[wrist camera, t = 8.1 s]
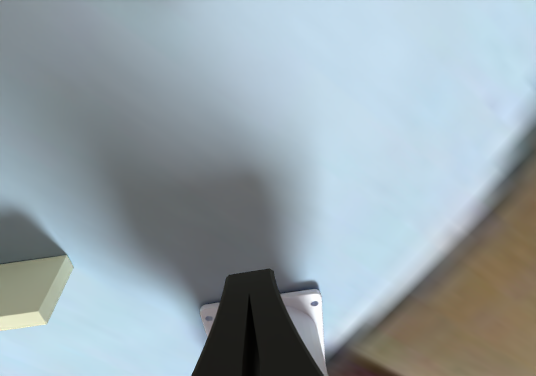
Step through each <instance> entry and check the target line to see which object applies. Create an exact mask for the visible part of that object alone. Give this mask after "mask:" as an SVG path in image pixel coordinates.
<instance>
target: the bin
mask: <svg viewBox="0 0 536 376" xmlns="http://www.w3.org/2000/svg"><path fill="white" fill-rule="evenodd" d="M73 268H74V267H73V265H72V263H71V261H70V260H69V258H68V256H67V255H63V256H56V257H49V258H42V259H35V260H28V261H21V262H14V263H7V264H0V331H3V330H10V329H17V328H24V327H31V326H38V325H45V324H47V323H48V321H49V319H50V317H51V315H52V312H53V310H54V308H55V306H56V304H57V302H58V300H59V298H60V296H61V293H62V291H63V289H64V287H65V285H66V283H67V281H68V279H69V276H70V274H71V272H72V270H73Z"/></svg>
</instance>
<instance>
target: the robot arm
mask: <svg viewBox="0 0 536 376" xmlns="http://www.w3.org/2000/svg"><path fill="white" fill-rule="evenodd" d="M313 301H314V302H313ZM200 316H201V319H202V322H203V325H204V328H205V331H206V334H207V337H208V338H207V341H206V343H205V346H204V348H203V350H202V353H201V355H200V357H199V359H198V362H197V364H196V366H195V369H194V371H193V373H192V375H191V376H328V374H327V369H326V365H325V351H324V332H323V313H322V296H321V293H320V291H319V290H317V289H310V290H303V291H297V292H290V293H283V294H280V293H279V290H278V287H277V284H276V280H275V276H274V271H273V270H271V269H264V270H258V271H251V272H245V273H239V274H232V275H229V276H228V277H227V278H226V281H225V285H224V290H223V293H222V297H221V301H220V303H213V304H206V305H203V306H202V307H201V308H200Z"/></svg>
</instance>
